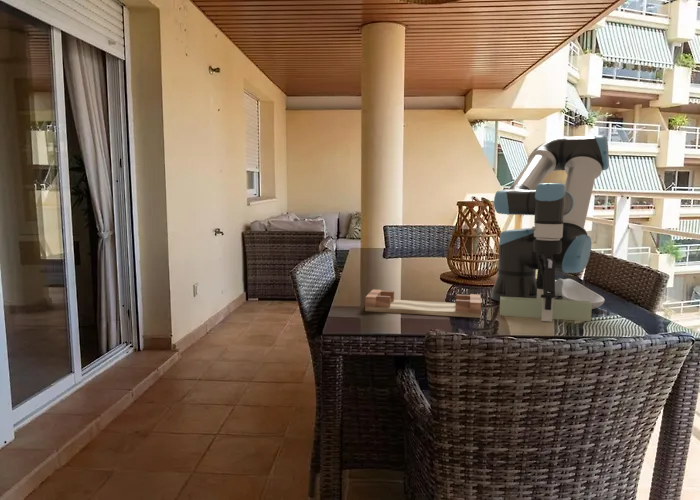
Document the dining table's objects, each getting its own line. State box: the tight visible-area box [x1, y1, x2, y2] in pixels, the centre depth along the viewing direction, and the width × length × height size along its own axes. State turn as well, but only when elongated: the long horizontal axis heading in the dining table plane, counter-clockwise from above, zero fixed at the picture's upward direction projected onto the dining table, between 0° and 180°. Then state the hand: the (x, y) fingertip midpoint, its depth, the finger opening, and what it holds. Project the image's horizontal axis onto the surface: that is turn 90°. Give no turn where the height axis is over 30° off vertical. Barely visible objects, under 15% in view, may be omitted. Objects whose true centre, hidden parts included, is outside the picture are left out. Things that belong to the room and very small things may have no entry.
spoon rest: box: [555, 278, 606, 310], centre depth 162 cm, size 24×12×7 cm, turn 4°
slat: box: [499, 296, 593, 322], centre depth 146 cm, size 4×24×5 cm, turn 75°
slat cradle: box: [364, 288, 482, 319], centre depth 153 cm, size 12×33×4 cm, turn 77°
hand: (543, 315), depth 146 cm, fingers open, 11 cm apart
